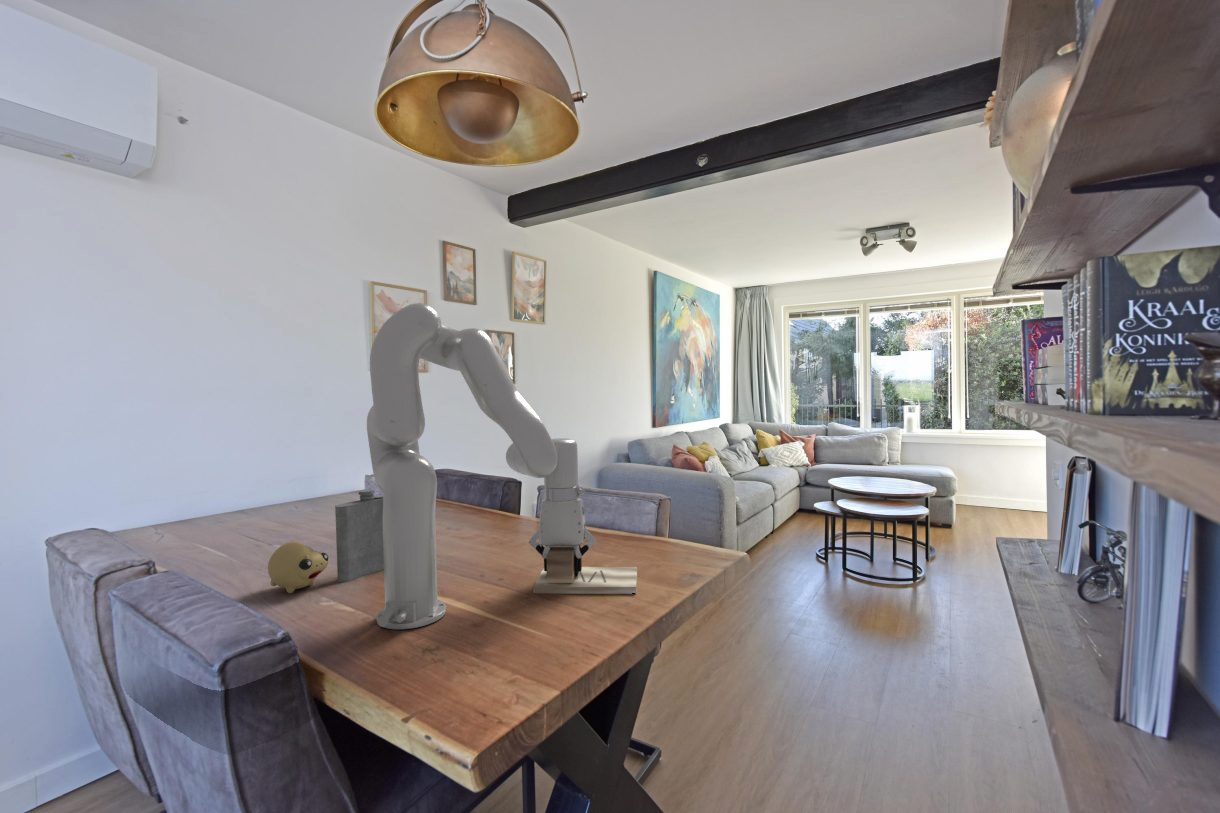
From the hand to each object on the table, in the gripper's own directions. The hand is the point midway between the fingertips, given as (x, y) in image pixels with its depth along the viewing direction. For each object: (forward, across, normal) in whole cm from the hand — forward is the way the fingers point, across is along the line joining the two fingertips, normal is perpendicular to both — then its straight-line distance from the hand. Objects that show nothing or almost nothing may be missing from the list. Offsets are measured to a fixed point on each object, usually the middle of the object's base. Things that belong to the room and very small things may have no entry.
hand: (563, 573), depth 123 cm
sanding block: (0, 0, 0) cm, 0 cm away
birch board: (+2, -6, 0) cm, 6 cm away
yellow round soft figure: (+2, +58, +5) cm, 59 cm away
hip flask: (+2, +48, -7) cm, 49 cm away
